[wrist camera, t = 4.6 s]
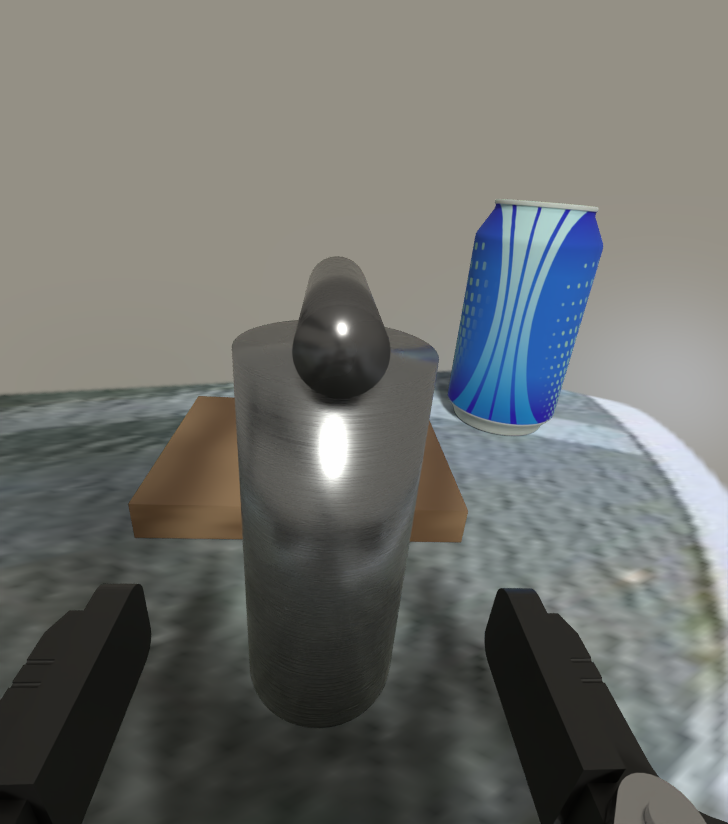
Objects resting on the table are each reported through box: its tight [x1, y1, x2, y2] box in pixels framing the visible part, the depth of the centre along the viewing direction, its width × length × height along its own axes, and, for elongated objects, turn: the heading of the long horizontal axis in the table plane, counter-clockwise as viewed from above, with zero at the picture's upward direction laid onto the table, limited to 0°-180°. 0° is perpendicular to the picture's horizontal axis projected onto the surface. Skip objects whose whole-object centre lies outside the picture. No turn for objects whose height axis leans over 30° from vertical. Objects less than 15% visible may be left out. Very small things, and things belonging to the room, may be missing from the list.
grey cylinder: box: [232, 257, 439, 728], centre depth 14 cm, size 5×6×14 cm
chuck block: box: [128, 396, 468, 542], centre depth 27 cm, size 16×12×2 cm
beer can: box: [448, 199, 603, 436], centre depth 33 cm, size 8×8×16 cm
